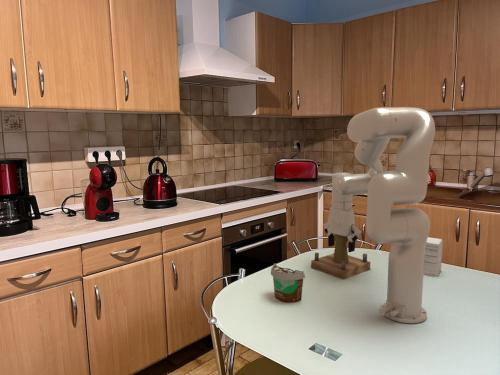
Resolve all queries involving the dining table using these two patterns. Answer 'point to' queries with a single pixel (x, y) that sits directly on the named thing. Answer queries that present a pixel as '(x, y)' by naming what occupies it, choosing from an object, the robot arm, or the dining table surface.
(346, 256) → the brown rounded piece
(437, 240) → the supplement box
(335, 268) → the shelf board
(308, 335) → the dining table surface
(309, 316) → the dining table surface
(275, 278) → the food container
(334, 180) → the robot arm
